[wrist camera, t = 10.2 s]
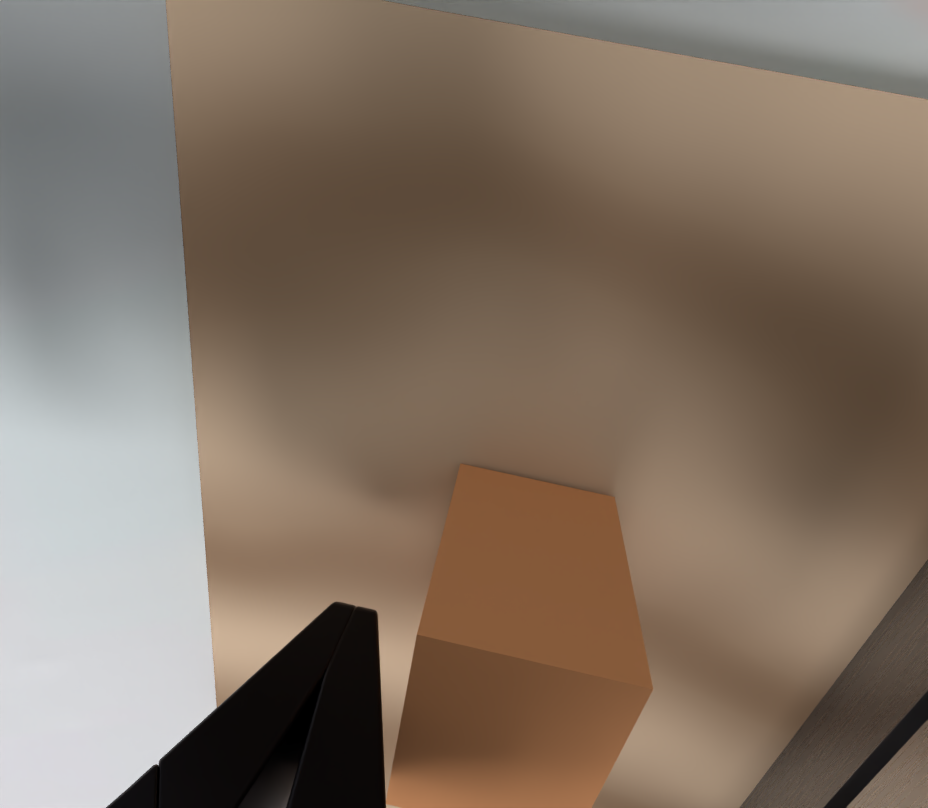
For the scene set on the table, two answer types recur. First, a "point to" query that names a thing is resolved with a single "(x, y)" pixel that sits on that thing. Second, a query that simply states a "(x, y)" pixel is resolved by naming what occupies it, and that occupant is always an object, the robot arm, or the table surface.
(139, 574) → the table surface
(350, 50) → the serving board
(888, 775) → the tongs upper
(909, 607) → the tongs lower
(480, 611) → the tan rectangular block
